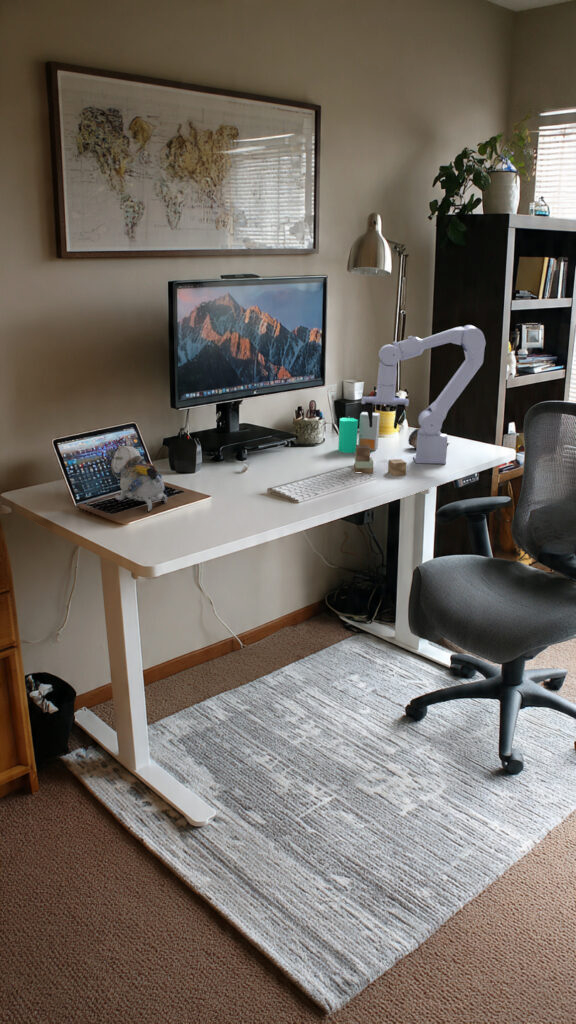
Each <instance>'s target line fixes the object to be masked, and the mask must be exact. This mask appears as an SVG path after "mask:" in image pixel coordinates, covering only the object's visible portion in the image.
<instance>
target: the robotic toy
mask: <svg viewBox="0 0 576 1024" xmlns="http://www.w3.org/2000/svg"><path fill="white" fill-rule="evenodd" d="M107 455H108V456H110V459H111V460H110V461H111V462H110V467H111V472H112V475H113V476H115V477H116V478H118V479H120V482H119V488H120V489H121V492H120V495H119V494H116V495H115V496H114V498H115V499H116V500H118V501H124V500H125V499H127V498H128V499H131V500H136V501H139V502H145V503H146V505H147V510H148V511H149V510H151V511H152V509H153V502H159V501H160V500H161V501H164V502H163V503H166V502H167V501H168V495H167V494H168V492H167V489H166V488H165V483H164V481H163V477H162V475H161V474H159V472H158V471H157V470H156V469H157V468H156V465H154V464H151V463H150V462H147V463H146V461H145V460H143V459H142V456H141V453H140V451H138V449H136V448H135V447H133V446H130V445H124V446H123V445H119V446H118V445H117V447H116V448H115V449H114V448H109V449H108V451H107ZM141 461H143V462H145V463H143V462H142V463H140V462H141ZM114 472H115V473H114ZM119 473H120V475H119ZM164 491H165V492H166V494H165V493H164ZM165 501H166V502H165Z"/></svg>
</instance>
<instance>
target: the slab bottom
mask: <svg viewBox="0 0 576 1024" xmlns="http://www.w3.org/2000/svg"><path fill="white" fill-rule="evenodd" d="M353 471H355V472H362V473H361V474H371V475H372V474H374V467H373V468H356V465H355V462H354V463H353ZM355 472H354V473H355Z"/></svg>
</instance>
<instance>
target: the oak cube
mask: <svg viewBox="0 0 576 1024" xmlns="http://www.w3.org/2000/svg"><path fill="white" fill-rule="evenodd" d="M407 463H408V462H407V461H405V460H403V459H401V458H395V459H388V465H387V473H388V474H389V475H391V476H393V477H400V476H406V475H407Z"/></svg>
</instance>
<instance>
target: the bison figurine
mask: <svg viewBox="0 0 576 1024" xmlns="http://www.w3.org/2000/svg"><path fill="white" fill-rule="evenodd" d="M419 429H420V428H416V429H414V430H413V431H412V432H411V433H410V434H409V436H408V439H407V442H408V445H410V446H412V447H413V448H414V449H416V448H417V434H418V430H419ZM449 445H450V443H449V442H447V447H448V446H449Z"/></svg>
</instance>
